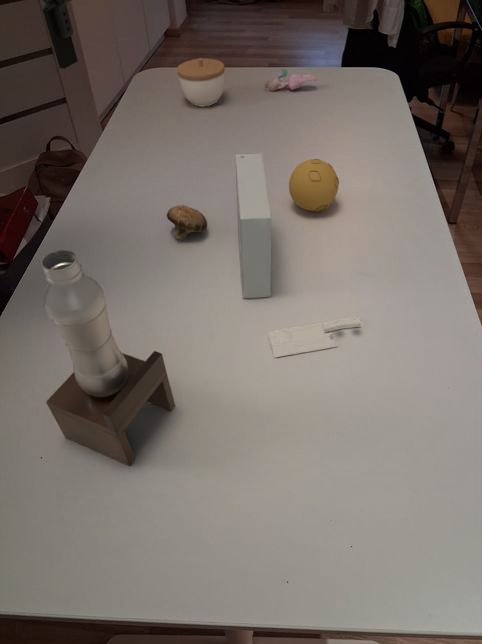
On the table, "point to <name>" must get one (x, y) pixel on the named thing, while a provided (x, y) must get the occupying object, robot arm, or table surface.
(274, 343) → the white meat cleaver
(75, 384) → the shelf
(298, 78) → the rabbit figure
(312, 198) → the stress ball
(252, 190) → the skincare box
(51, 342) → the table surface
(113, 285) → the table surface
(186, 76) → the lidded bowl
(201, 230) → the mushroom
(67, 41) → the robot arm
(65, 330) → the plastic bottle
